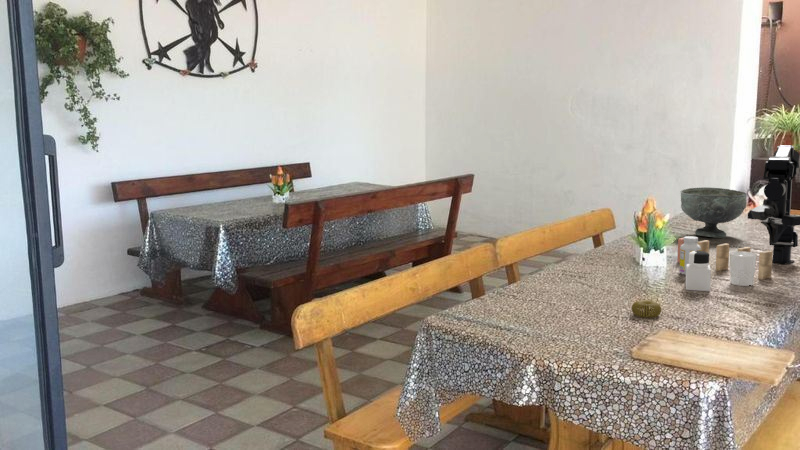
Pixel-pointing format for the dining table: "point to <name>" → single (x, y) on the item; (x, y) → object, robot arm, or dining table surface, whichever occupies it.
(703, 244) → the domino
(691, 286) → the medicine bottle
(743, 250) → the domino
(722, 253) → the domino
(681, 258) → the supplement bottle
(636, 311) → the olive green ribbed ring
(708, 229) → the decorative bowl
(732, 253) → the white cup
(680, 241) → the domino
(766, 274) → the domino
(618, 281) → the dining table surface
